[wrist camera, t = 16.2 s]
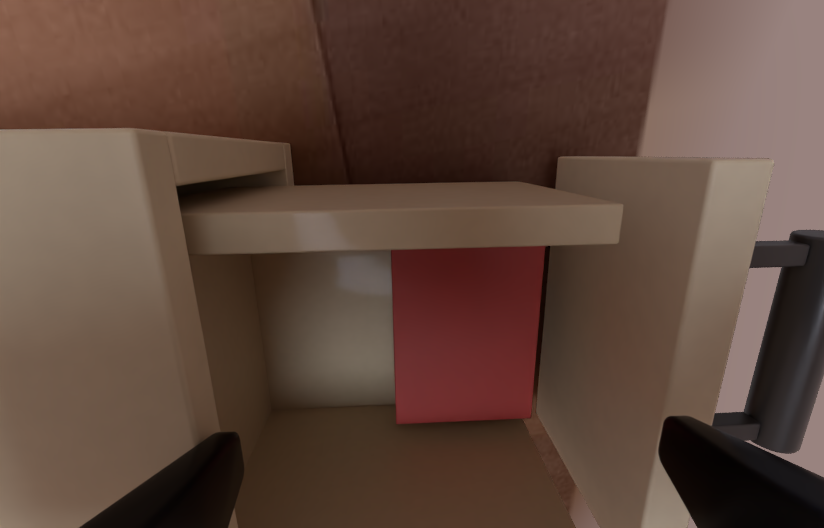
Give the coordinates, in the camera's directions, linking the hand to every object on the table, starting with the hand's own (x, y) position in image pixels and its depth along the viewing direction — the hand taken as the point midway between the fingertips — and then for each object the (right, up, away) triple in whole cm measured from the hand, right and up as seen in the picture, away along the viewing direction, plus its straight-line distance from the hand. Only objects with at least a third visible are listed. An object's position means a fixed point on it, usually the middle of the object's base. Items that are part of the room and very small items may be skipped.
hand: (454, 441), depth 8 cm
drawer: (+2, +2, +7) cm, 8 cm away
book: (+1, +2, +6) cm, 6 cm away
